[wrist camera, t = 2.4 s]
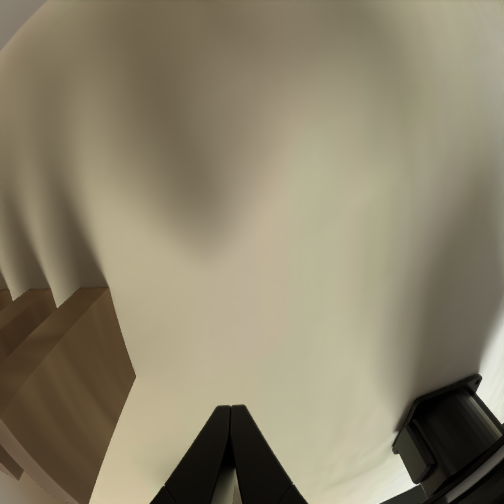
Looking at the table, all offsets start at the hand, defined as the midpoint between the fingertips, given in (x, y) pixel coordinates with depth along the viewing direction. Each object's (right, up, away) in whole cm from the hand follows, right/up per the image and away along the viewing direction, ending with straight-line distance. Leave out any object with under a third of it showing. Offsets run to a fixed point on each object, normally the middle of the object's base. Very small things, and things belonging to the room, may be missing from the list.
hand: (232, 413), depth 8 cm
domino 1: (-6, +1, +4) cm, 8 cm away
